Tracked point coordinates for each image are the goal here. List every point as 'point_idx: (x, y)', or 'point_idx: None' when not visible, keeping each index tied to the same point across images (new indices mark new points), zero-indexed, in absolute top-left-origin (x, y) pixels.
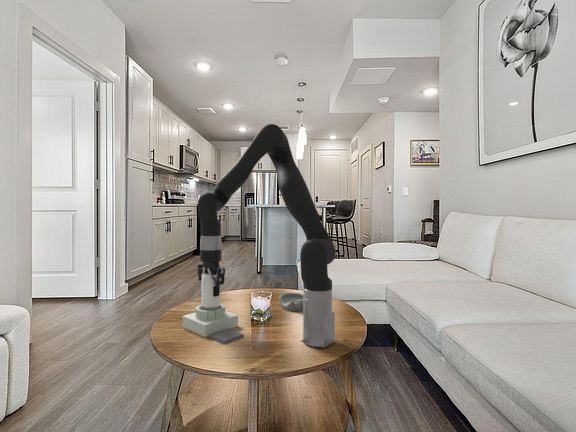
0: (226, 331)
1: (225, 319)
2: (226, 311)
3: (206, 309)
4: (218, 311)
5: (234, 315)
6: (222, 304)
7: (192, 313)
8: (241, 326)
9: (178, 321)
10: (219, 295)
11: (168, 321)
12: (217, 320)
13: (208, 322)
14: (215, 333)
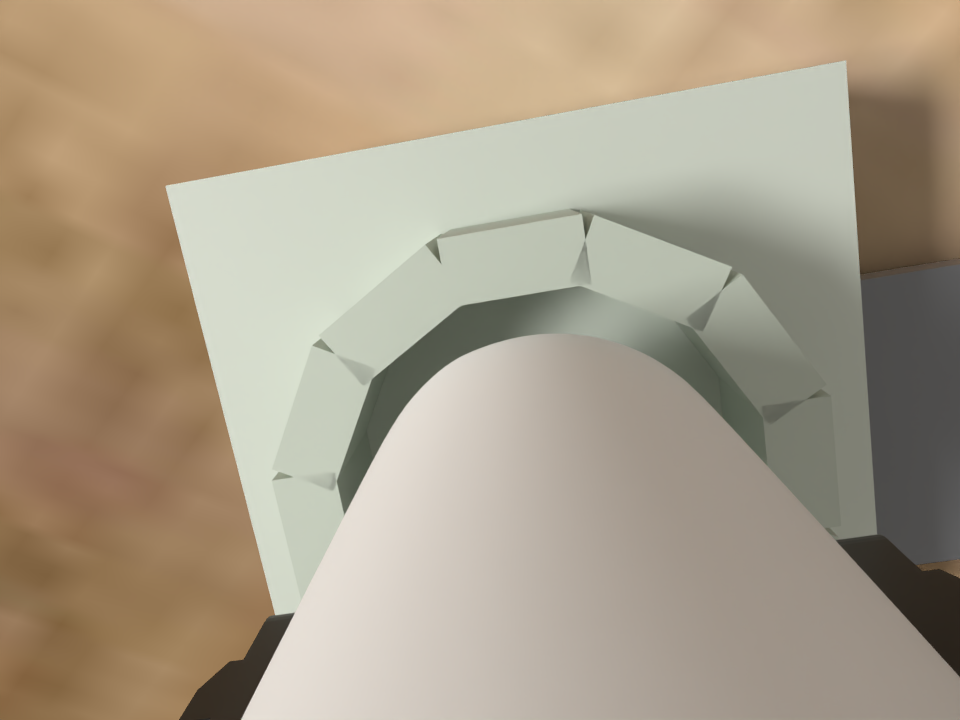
0: (928, 362)
1: (860, 336)
2: (517, 133)
3: (358, 454)
4: (826, 463)
5: (821, 128)
6: (532, 229)
7: (280, 613)
8: (820, 50)
9: (119, 623)
10: (768, 467)
11: (56, 707)
12: (837, 467)
13: None
14: (884, 498)
